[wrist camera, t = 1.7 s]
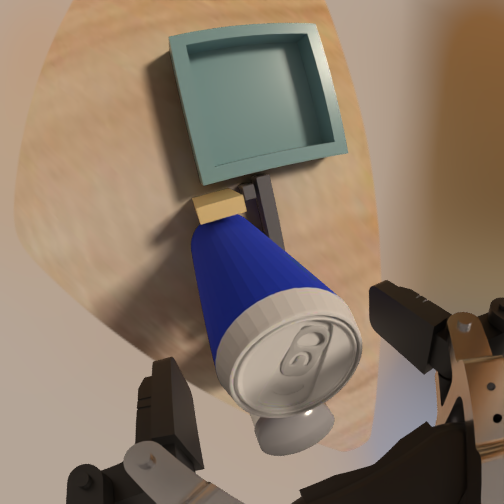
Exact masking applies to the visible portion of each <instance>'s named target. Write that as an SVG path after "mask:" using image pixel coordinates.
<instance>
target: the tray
mask: <svg viewBox="0 0 504 504" xmlns="http://www.w3.org/2000/svg"><path fill="white" fill-rule="evenodd" d="M169 52H170V57H171V61H172V66H173V70H174V75H175V79H176V84H177V88H178V93H179V97H180V102H181V106H182V110H183V114H184V119H185V123H186V127H187V131H188V135H189V139H190V143H191V147H192V151H193V155H194V159H195V163H196V167H197V171H198V175H199V179H200V183H201V184H202V185H203V186H205V185H208V184H212V183H216V182H219V181H223V180H227V179H231V178H234V177H238V176H242V175H246V174H250V173H254V172H259V171H263V170H267V169H271V168H276V167H280V166H285V165H289V164H294V163H299V162H304V161H309V160H314V159H319V158H324V157H329V156H335V155H340V154H346V153H348V150H347V144H346V139H345V134H344V129H343V124H342V119H341V115H340V110H339V106H338V101H337V97H336V93H335V89H334V85H333V81H332V77H331V74H330V70H329V66H328V63H327V59H326V56H325V52H324V49H323V46H322V43H321V39H320V36H319V33H318V30H317V27H316V24H312V23H267V24H250V25H238V26H229V27H221V28H213V29H207V30H201V31H195V32H189V33H184V34H180V35H175V36H170V37H169Z"/></svg>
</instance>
